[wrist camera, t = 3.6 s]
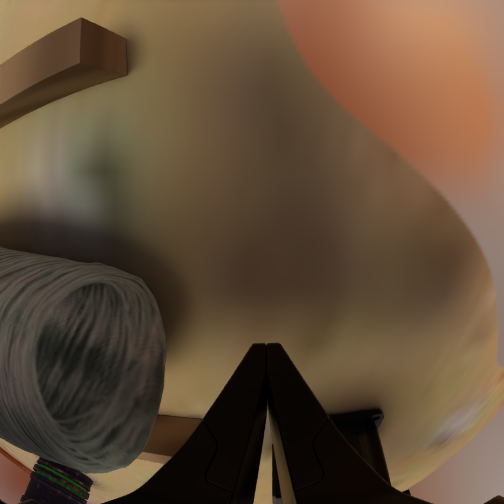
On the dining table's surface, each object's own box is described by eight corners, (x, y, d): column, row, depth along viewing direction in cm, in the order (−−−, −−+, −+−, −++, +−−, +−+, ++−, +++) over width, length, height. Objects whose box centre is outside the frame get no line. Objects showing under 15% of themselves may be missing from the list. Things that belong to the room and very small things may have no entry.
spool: (189, 216, 7) (17, 570, 1) (214, 351, 14) (140, 515, 8) (-23, 160, 9) (-122, 305, 3) (42, 267, 16) (-22, 379, 10)
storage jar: (56, 469, 30) (34, 528, 16) (29, 444, 25) (0, 511, 12) (102, 488, 29) (83, 554, 16) (79, 467, 25) (53, 545, 12)
